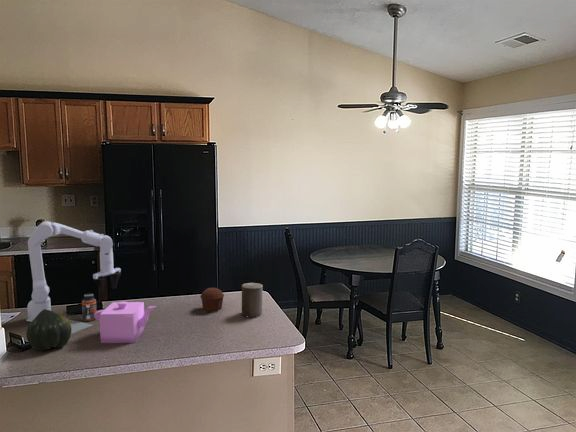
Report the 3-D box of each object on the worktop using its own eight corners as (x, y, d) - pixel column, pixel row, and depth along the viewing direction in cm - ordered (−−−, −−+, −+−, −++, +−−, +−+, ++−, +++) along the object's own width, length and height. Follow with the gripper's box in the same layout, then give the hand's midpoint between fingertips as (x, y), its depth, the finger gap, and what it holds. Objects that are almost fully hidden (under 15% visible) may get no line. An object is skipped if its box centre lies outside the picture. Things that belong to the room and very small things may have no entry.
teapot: (153, 342, 177) (151, 307, 175) (88, 343, 175) (86, 308, 174) (161, 328, 192) (160, 296, 190) (102, 329, 190) (100, 297, 189)
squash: (65, 340, 164) (67, 302, 172) (19, 346, 160) (23, 307, 168) (73, 353, 176) (74, 317, 184) (30, 359, 172) (33, 322, 180)
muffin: (205, 304, 223) (204, 284, 222) (226, 305, 222) (226, 285, 221) (197, 312, 212) (196, 291, 210) (219, 313, 210) (219, 292, 209)
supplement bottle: (91, 322, 199) (90, 297, 197) (79, 321, 200) (78, 296, 198) (99, 317, 204) (98, 293, 203) (88, 316, 206) (86, 292, 204)
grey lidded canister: (243, 318, 204) (243, 286, 202) (240, 311, 213) (240, 280, 211) (264, 316, 206) (264, 285, 204) (260, 310, 215) (260, 279, 214)
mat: (36, 331, 188) (36, 330, 188) (67, 320, 201) (67, 319, 201) (62, 337, 181) (62, 336, 181) (93, 325, 194) (93, 324, 194)
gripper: (100, 266, 201) (101, 295, 202) (125, 259, 214) (126, 287, 215) (89, 264, 204) (90, 293, 205) (114, 258, 217) (115, 285, 218)
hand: (108, 290), depth 211 cm, fingers open, 7 cm apart
